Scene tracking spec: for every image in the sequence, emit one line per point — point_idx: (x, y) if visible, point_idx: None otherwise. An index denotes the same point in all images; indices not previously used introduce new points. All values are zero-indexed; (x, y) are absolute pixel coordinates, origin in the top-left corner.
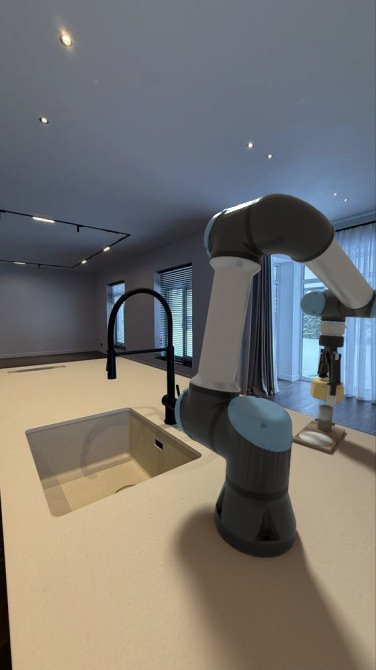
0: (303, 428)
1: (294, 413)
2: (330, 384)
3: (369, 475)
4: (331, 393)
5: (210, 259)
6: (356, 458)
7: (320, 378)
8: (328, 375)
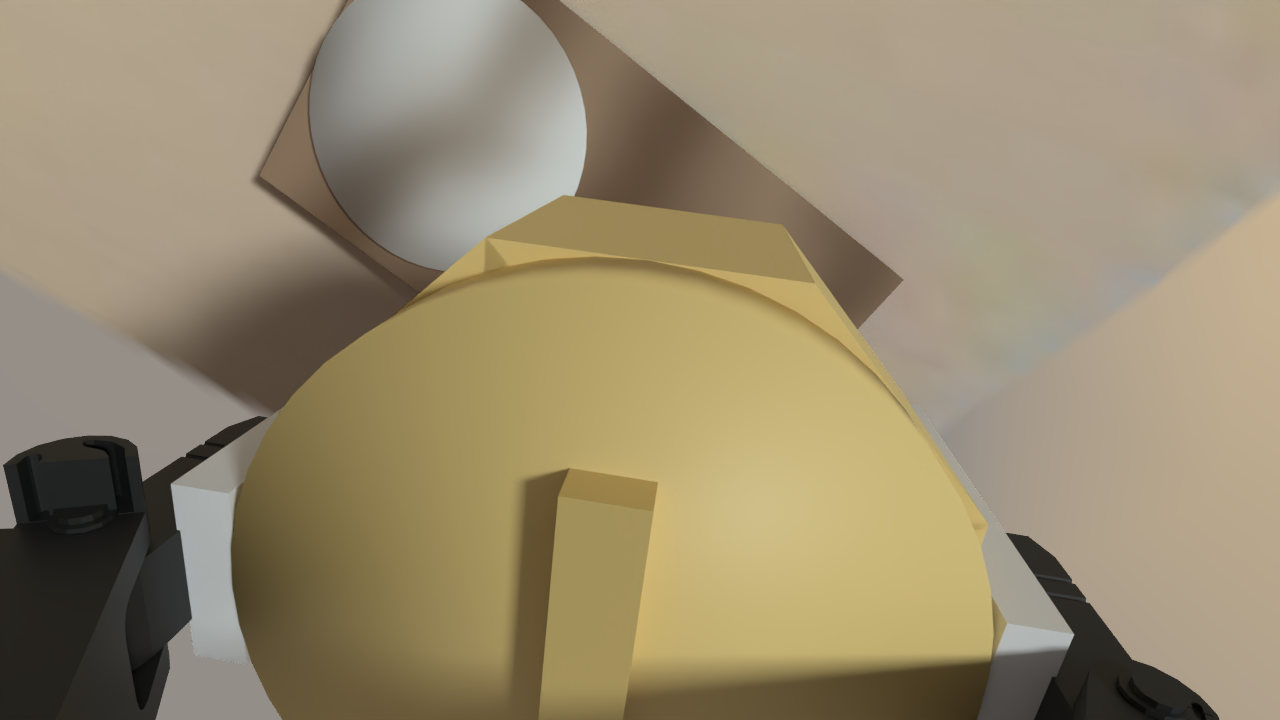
0: (673, 95)
1: (1232, 183)
2: (54, 506)
3: (78, 307)
4: (218, 438)
5: None
6: (272, 341)
7: (926, 620)
8: (67, 695)
